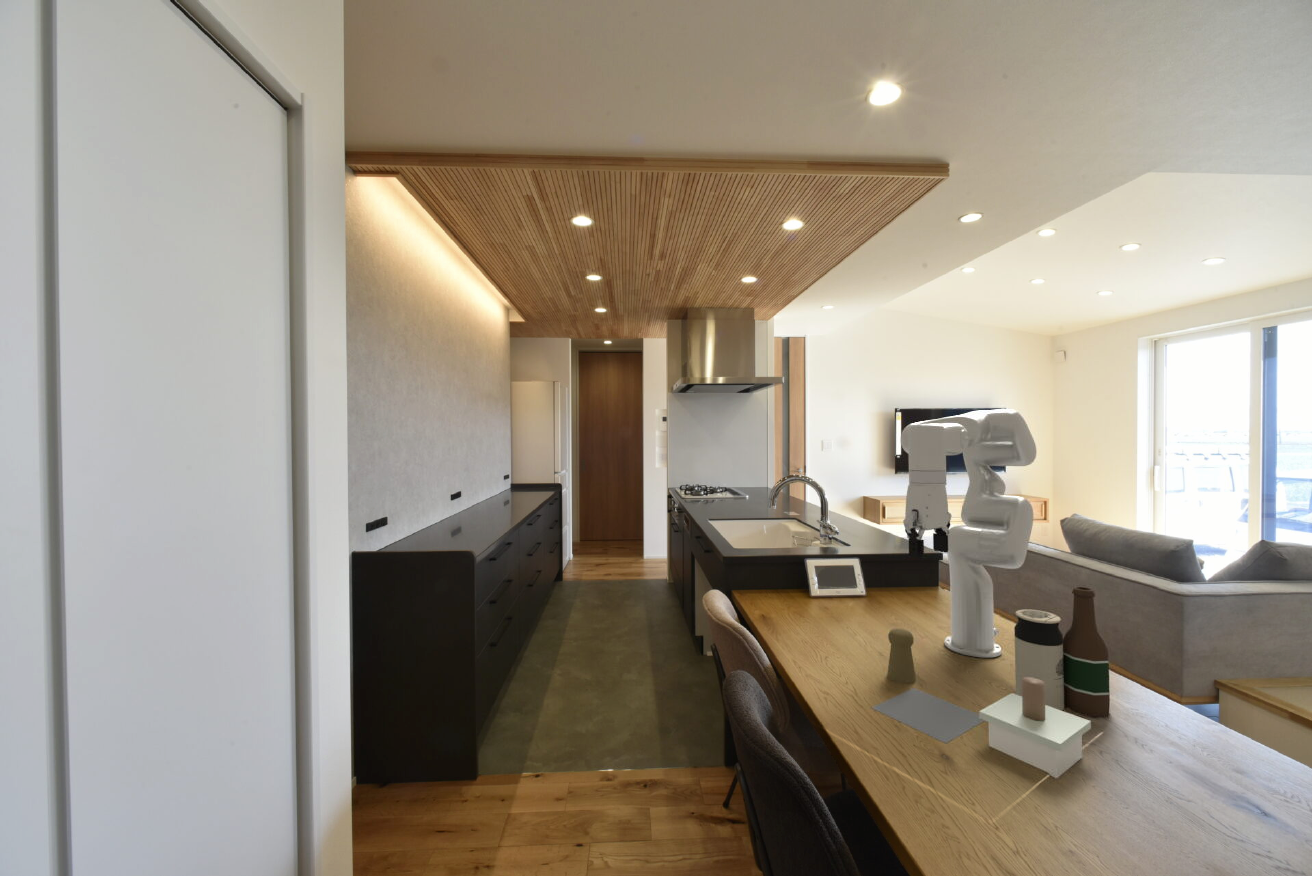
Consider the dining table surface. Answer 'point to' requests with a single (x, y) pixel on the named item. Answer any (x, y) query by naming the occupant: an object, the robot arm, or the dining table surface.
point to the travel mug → (1040, 653)
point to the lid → (1035, 717)
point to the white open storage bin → (1035, 751)
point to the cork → (901, 657)
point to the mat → (929, 714)
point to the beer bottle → (1085, 660)
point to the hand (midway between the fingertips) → (928, 554)
